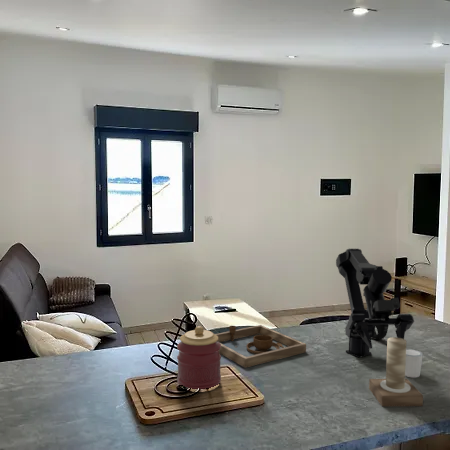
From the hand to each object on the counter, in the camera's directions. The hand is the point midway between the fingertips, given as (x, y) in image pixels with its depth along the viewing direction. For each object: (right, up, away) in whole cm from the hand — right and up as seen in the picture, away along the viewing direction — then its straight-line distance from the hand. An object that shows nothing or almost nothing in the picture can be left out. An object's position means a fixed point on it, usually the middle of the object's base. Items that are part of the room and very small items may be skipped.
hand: (386, 347), depth 141 cm
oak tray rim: (-37, -8, +32) cm, 50 cm away
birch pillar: (0, -9, -7) cm, 11 cm away
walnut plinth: (0, -12, -6) cm, 14 cm away
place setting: (-36, -9, +35) cm, 51 cm away
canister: (-55, -11, +2) cm, 56 cm away
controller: (+10, -8, +44) cm, 46 cm away
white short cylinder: (+11, -11, +10) cm, 18 cm away
